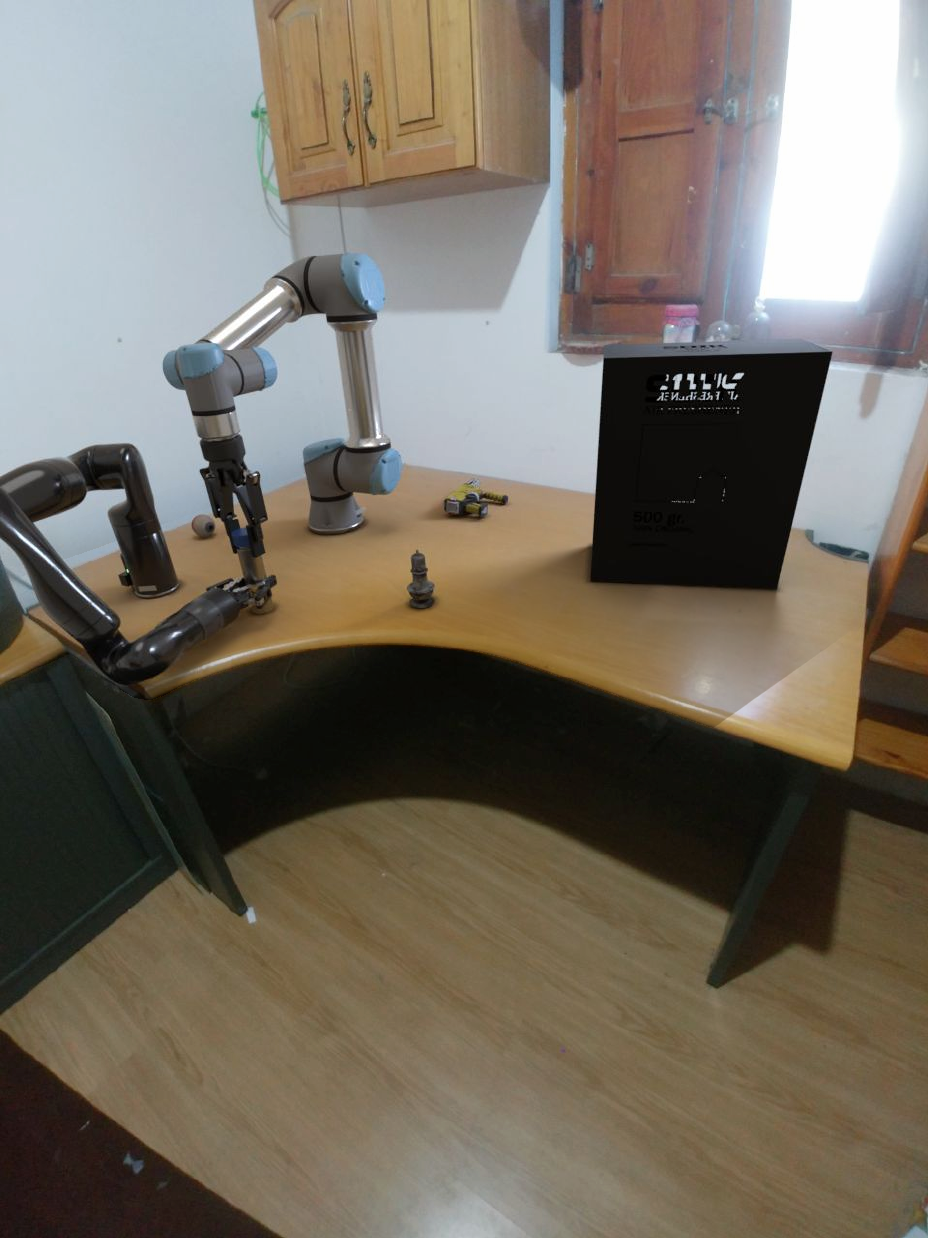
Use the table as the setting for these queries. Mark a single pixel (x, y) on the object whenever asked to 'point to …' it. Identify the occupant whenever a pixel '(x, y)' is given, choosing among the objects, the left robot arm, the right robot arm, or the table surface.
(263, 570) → the bottle
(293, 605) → the table surface
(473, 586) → the table surface
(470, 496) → the toy gun
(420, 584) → the grey chess piece
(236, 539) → the lid
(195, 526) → the eyeball
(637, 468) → the cardboard box
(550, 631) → the table surface
